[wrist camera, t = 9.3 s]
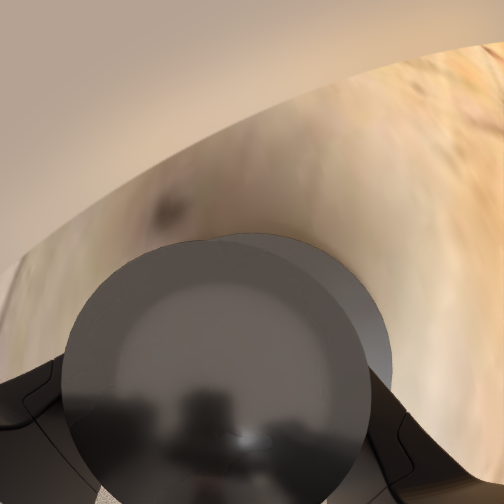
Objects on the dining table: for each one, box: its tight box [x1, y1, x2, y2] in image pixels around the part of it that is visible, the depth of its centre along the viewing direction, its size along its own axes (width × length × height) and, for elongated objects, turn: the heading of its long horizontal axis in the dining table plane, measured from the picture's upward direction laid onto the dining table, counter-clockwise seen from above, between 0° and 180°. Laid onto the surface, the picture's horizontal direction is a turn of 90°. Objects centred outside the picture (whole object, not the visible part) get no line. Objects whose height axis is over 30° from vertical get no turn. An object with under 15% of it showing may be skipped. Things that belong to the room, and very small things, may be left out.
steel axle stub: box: [61, 240, 371, 504], centre depth 9 cm, size 5×5×11 cm
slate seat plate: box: [210, 233, 392, 390], centre depth 15 cm, size 16×16×4 cm
